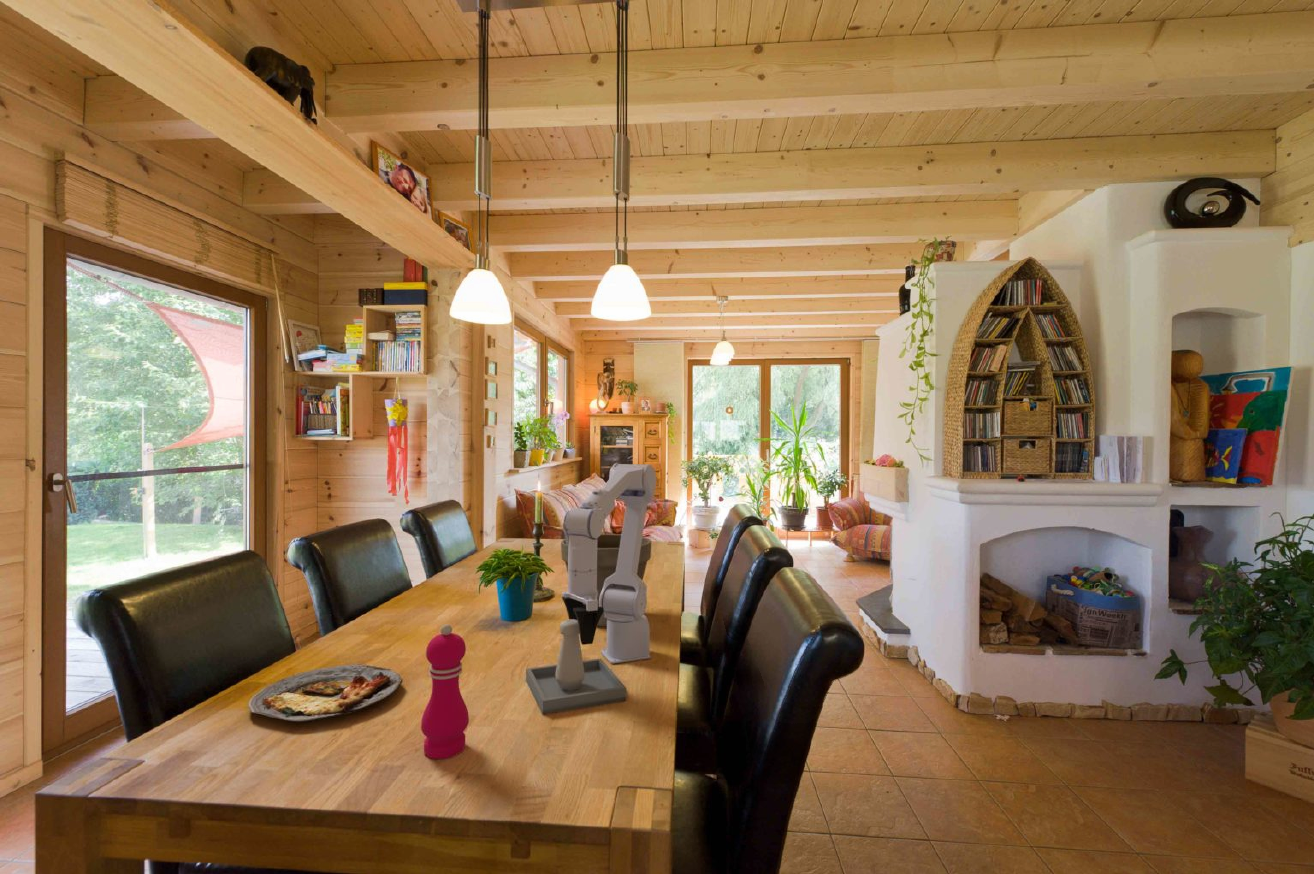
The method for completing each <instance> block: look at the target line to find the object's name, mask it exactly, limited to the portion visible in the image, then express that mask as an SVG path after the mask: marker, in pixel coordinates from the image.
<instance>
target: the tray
mask: <svg viewBox="0 0 1314 874" xmlns="http://www.w3.org/2000/svg"><path fill="white" fill-rule="evenodd" d="M583 666H584V672H585V677H584V679H583V681H582V683H581V685H580V687H579V689H577V690H573V691H564V690H561V688H560V686H559V684H558V682H557V680H556V676H555V673H556V668H557V664H550V665H543V666H536V667H530V668H529V667H528V668H526V669H525V682H526V684H527V686H528V687H529V691H530V692H531V694H532V697H533V698H534V700H535V702H536V704H537V706H538V709H539V710H540V713H541V715H542V716H543V715H544V716H545V715H549V714H550V715H551V714H556V713H561V712H568V711H574V710H580V709H585V708H591V707H593V708H594V707H599V706H604V705H610V704H615V703H621V702H626V701H627V687H626V686H625V684H624V683H623V682H622V681H621V679H620V678H619V677H618V676H617V675H616V674H615V673H614V672H613V670H612V669H611V668H610V667H609V666H608V665H607V663H606V662H605V661H604V659H602V658H601V657H600V658H595V659H588V660H583Z"/></svg>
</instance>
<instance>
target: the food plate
mask: <svg viewBox="0 0 1314 874" xmlns="http://www.w3.org/2000/svg"><path fill="white" fill-rule="evenodd" d="M333 682H337V683H339V685H338V684H334V683H333ZM344 682H350V683H349V684H348V685H346V684H342V683H344ZM401 684H403V678H402V677H401V675H400V674H399V673H397V672H396V671H394V670H393V669H390V668H386V667H381V666H380V667H377V666H374V665H373V666H372V665H366V664H365V665H364V664H363V665H362V664H360V663H359V664H346V665H345V664H343V665H337V666H332V667H326V668H318V669H317V668H316V669H312V670H308V671H304V672H301V673H296V674H292V676H291V675H290V676H287V677H285V678H282V679H279V680H278V681H276V682H274V683H272V684H269V685H267V686H264V687H263V688H262V689H261V690H259V692H257V693H256V694H254V695H253V696H252V697H251V698H250V699H249V702H248V708H249V709H250V712H251V713H254V714H257V715H262V716H266V717H269V718H274V719H278V720H279V719H280V720H285V721H289V722H299V723H300V722H305V723H308V722H314V721H319V720H325V719H331V718H336V717H342V716H345V715H349V714H350V713H356V712H359V711H361V710H364V709H365V708H367V707H370V706H371V705H374V704H376V703H378V702H380V701H382V700H385V699H387V698H389V697H390V696H392V695H393V694H394V693H396V692H397V691H398V689H399V687H400V686H401ZM300 691H301V692H302V693H304V694H308V695H303V694H298V693H297V692H300ZM296 693H297V694H296Z"/></svg>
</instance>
